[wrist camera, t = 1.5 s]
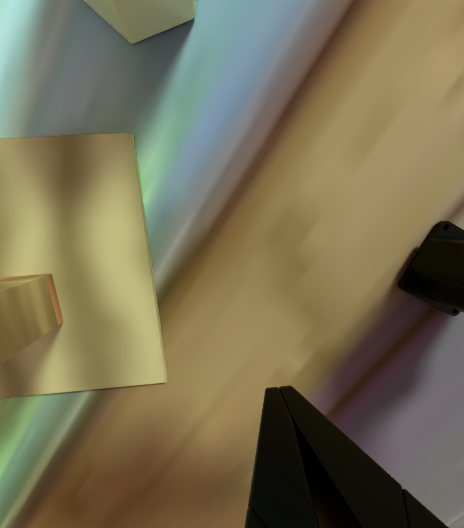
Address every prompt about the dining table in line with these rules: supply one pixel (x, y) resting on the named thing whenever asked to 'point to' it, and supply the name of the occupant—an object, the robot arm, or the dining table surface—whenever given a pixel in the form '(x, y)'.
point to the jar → (143, 15)
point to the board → (81, 262)
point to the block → (26, 311)
